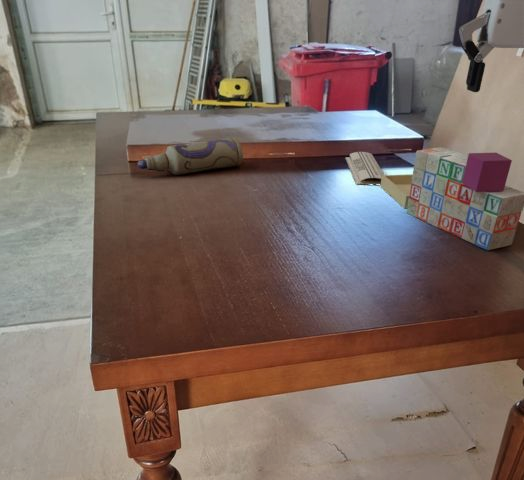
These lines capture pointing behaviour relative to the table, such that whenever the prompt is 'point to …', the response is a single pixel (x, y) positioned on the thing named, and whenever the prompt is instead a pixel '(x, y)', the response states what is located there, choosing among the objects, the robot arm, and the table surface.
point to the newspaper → (364, 168)
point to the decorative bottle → (196, 157)
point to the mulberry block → (486, 172)
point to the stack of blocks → (462, 201)
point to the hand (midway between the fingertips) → (502, 90)
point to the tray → (398, 187)
